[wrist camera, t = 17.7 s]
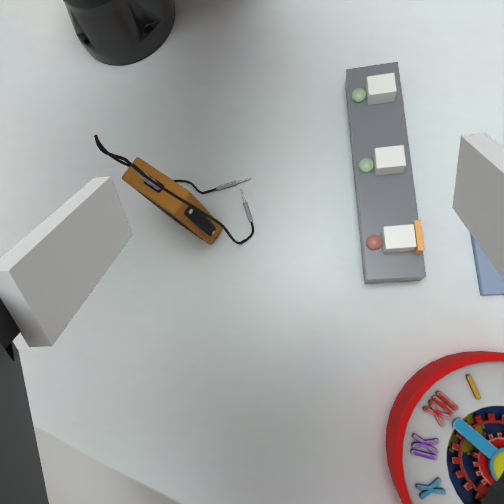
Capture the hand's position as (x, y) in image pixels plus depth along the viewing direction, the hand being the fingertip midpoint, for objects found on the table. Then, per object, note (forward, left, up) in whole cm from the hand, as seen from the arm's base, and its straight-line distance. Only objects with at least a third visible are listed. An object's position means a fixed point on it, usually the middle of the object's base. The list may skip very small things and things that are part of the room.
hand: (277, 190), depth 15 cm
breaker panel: (-14, +9, -33) cm, 37 cm away
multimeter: (-13, -12, -33) cm, 37 cm away
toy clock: (+17, +17, -33) cm, 41 cm away
